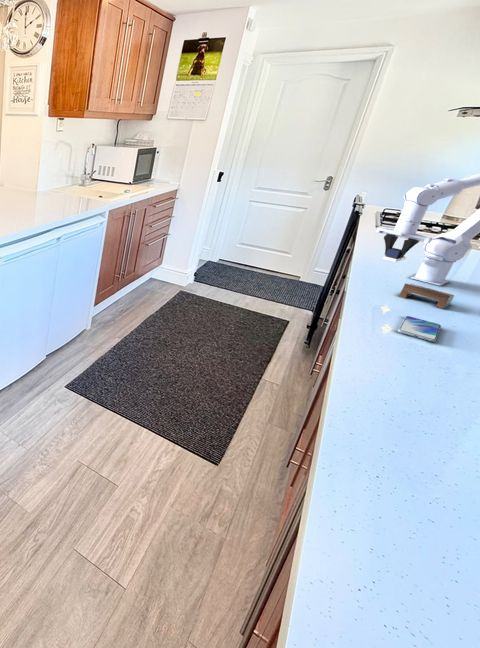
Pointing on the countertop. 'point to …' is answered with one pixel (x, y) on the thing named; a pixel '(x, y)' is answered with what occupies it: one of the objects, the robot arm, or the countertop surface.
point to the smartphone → (420, 328)
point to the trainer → (393, 255)
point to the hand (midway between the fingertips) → (393, 256)
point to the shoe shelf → (427, 294)
